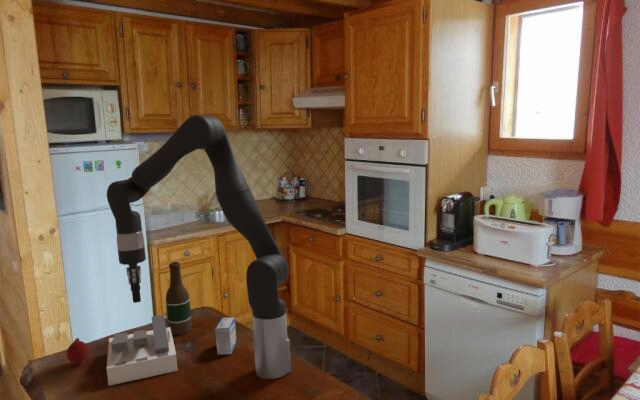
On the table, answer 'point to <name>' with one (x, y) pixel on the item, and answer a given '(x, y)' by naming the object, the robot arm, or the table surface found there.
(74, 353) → the onion
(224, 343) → the medicine box
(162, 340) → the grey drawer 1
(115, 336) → the grey board
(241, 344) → the table surface
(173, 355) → the board rack
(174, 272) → the beer bottle
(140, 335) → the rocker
